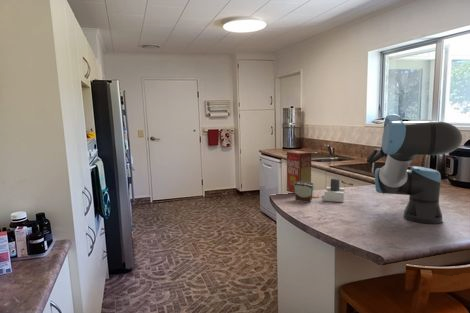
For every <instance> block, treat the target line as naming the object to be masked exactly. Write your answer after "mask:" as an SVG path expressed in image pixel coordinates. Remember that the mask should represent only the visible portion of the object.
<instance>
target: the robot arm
mask: <svg viewBox="0 0 470 313" xmlns="http://www.w3.org/2000/svg"><path fill="white" fill-rule="evenodd" d="M462 141H463V134H462V132H461V131H460V129H459V128H458V127H456V126H455V125H453V124H452V123H447V122H445V121H440V120H429V121H428V120H425V121H423V120H414V121H413V120H411V121H410V120H409V121H406V120H404V121H403V118H402V116H400V115H399V114H397V113H394V114H393V113H392V114H388V115H386V116H385V117H384V120H383V133H382V140H381V148H378V147H374V150H373V151H372V152H370V154H369V155H368V157H367V158H366V163H367V164H369V167H370V168H371V173H372V174H373V173H374V183H375V184H374V185H375V186H374V187H375V191H376V193H378V194H385V195H387V194H388V195H403V196H409V198H408V201H407V204H406V207H405V209H404V211H403V217H404V218H405V219H406V220H408V221H412V222H415V223H422V224H427V225H429V224H430V225H431V224H432V225H435V224H440V223H443V213H442V210H441V207H440V193H441V183H442V181H441V180H442V176H441V173H440V171H438V170H436V169H433V168H428V167H424V166H415V165H413V166H411V167H410V169H409V166H410V164H411V162H412V161H413V160H415V159H417V157H418V156H441V155H445V154H449V153H452V152H454V151H456V150H457V149H458V148H459V147H460V146H461V144H462ZM384 157H385V158H386V159H385V164H384V165H383V166H381V167H378V168H375V163H376V162H378V161H379V160H380V159H381V158H382V159H383V158H384ZM374 169H375V172H374Z"/></svg>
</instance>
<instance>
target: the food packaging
mask: <svg viewBox="0 0 470 313" xmlns="http://www.w3.org/2000/svg"><path fill="white" fill-rule="evenodd" d="M300 181H302V182H311V183H312V152H311V151H310V152H309V151H302V150H291V151H290V150H289V151H286V192H290V193H293V194H295V189H294V186H293V184H294V182H300Z"/></svg>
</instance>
